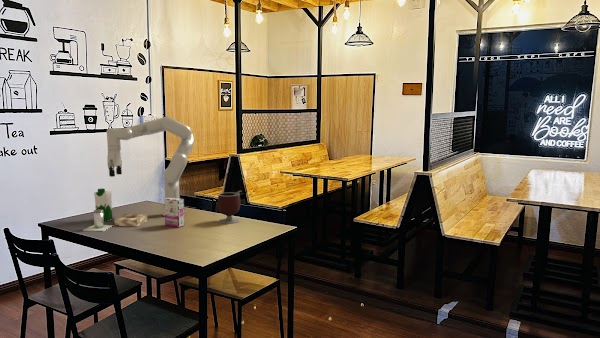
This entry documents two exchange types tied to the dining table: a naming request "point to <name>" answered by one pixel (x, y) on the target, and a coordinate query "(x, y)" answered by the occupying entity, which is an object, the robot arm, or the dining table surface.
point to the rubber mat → (98, 228)
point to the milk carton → (104, 203)
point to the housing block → (130, 220)
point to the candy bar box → (174, 212)
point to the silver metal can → (98, 218)
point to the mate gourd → (229, 206)
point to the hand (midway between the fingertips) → (115, 175)
